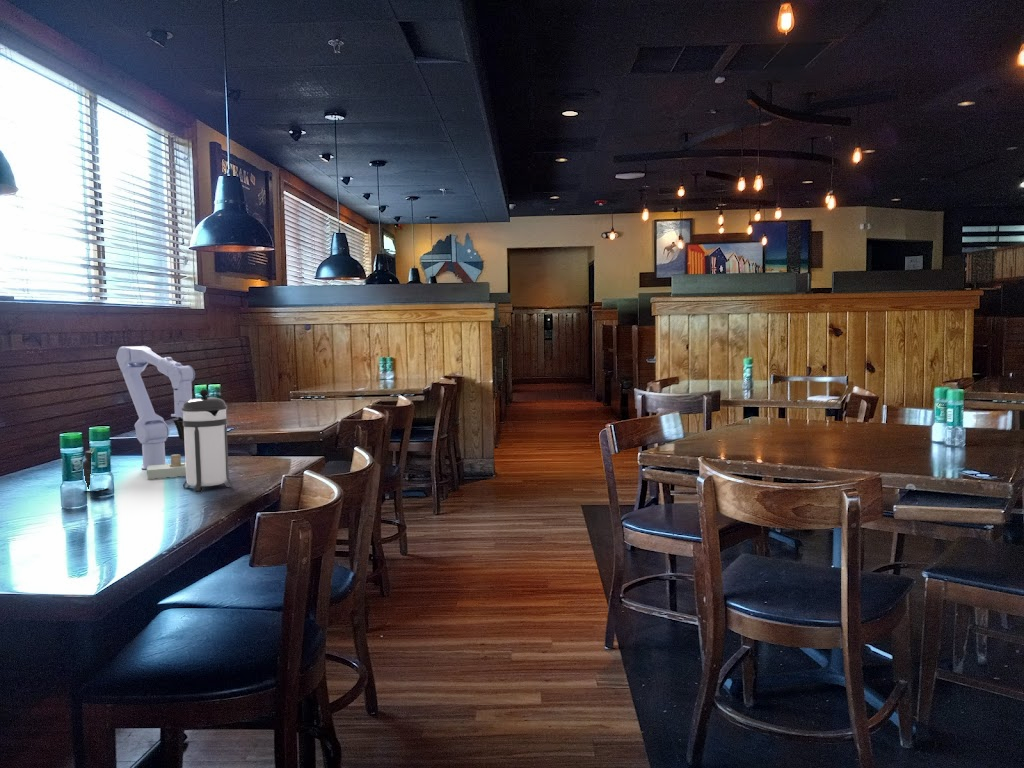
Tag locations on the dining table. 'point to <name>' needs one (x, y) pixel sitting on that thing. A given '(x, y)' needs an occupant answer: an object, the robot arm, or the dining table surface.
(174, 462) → the peg
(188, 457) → the coffee press
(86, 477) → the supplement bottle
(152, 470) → the bore block
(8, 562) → the dining table surface
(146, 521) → the dining table surface
